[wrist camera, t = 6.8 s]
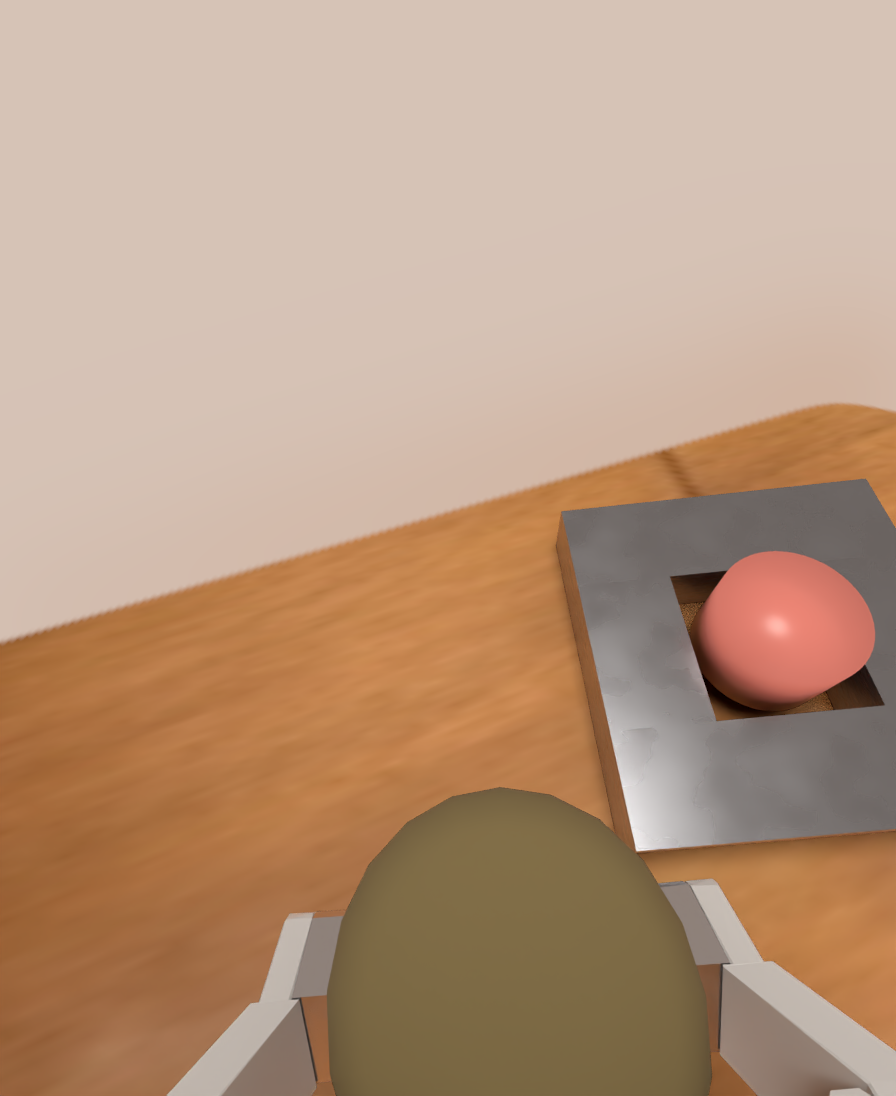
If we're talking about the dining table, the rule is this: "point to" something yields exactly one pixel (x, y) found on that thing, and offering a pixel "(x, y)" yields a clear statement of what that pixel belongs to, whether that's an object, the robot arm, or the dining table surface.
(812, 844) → the dining table surface
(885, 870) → the dining table surface
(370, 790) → the dining table surface
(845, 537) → the switch box
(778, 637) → the button
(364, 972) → the olive pepper mill
